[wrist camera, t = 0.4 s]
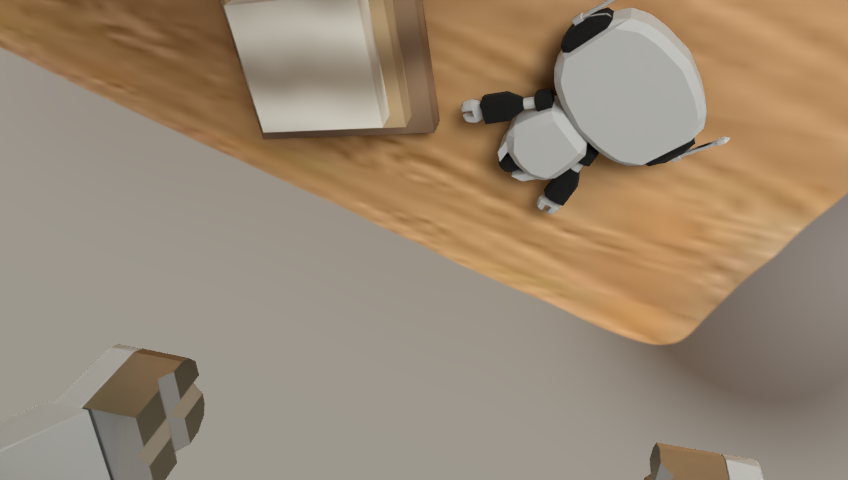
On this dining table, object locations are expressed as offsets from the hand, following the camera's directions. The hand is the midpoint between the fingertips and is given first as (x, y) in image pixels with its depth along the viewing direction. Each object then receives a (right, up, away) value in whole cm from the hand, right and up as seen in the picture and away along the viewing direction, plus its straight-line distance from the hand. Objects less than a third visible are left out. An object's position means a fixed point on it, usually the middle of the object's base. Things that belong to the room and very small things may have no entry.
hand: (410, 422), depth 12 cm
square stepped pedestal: (-6, +18, +37) cm, 42 cm away
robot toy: (+12, +13, +36) cm, 41 cm away
